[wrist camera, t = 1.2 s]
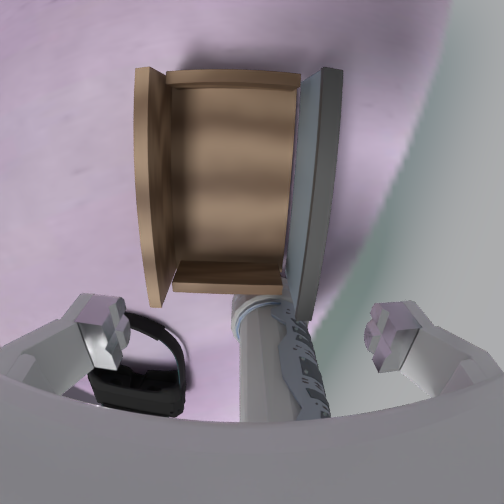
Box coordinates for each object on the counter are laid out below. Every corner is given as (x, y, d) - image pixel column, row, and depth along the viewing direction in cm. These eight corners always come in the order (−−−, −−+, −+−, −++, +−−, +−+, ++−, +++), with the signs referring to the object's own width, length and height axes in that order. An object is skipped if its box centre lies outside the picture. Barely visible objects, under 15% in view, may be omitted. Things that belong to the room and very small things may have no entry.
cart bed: (168, 83, 28) (135, 68, 18) (292, 85, 28) (315, 69, 18) (172, 257, 37) (150, 307, 27) (278, 260, 38) (291, 312, 28)
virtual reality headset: (104, 390, 49) (87, 423, 39) (83, 298, 43) (54, 325, 33) (190, 405, 50) (183, 443, 40) (185, 310, 44) (172, 346, 34)
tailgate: (299, 82, 26) (324, 66, 17) (313, 84, 26) (343, 70, 17) (283, 272, 35) (296, 321, 27) (295, 272, 35) (311, 320, 27)
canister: (299, 267, 38) (370, 498, 11) (304, 324, 43) (351, 519, 16) (225, 280, 39) (209, 518, 12) (239, 334, 43) (241, 533, 16)
